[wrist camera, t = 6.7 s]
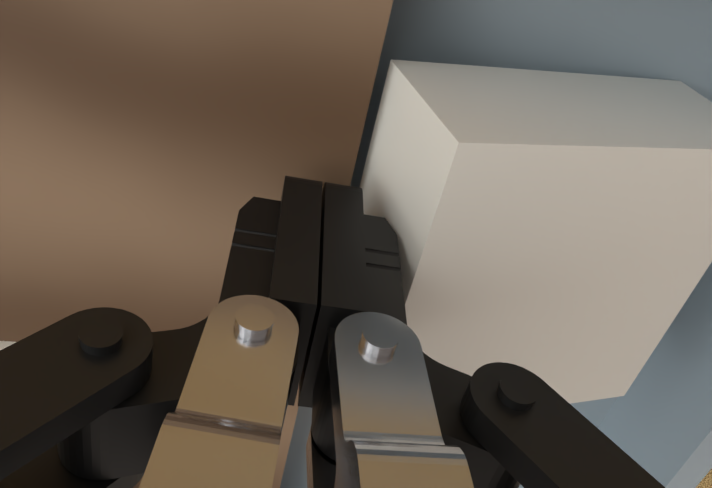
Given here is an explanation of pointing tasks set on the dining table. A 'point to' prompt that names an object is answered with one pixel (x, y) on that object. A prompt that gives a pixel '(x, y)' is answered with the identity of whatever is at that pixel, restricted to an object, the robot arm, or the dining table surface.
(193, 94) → the walnut plate
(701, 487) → the dining table surface
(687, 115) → the cream tile
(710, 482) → the dining table surface
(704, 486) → the dining table surface
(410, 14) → the box
